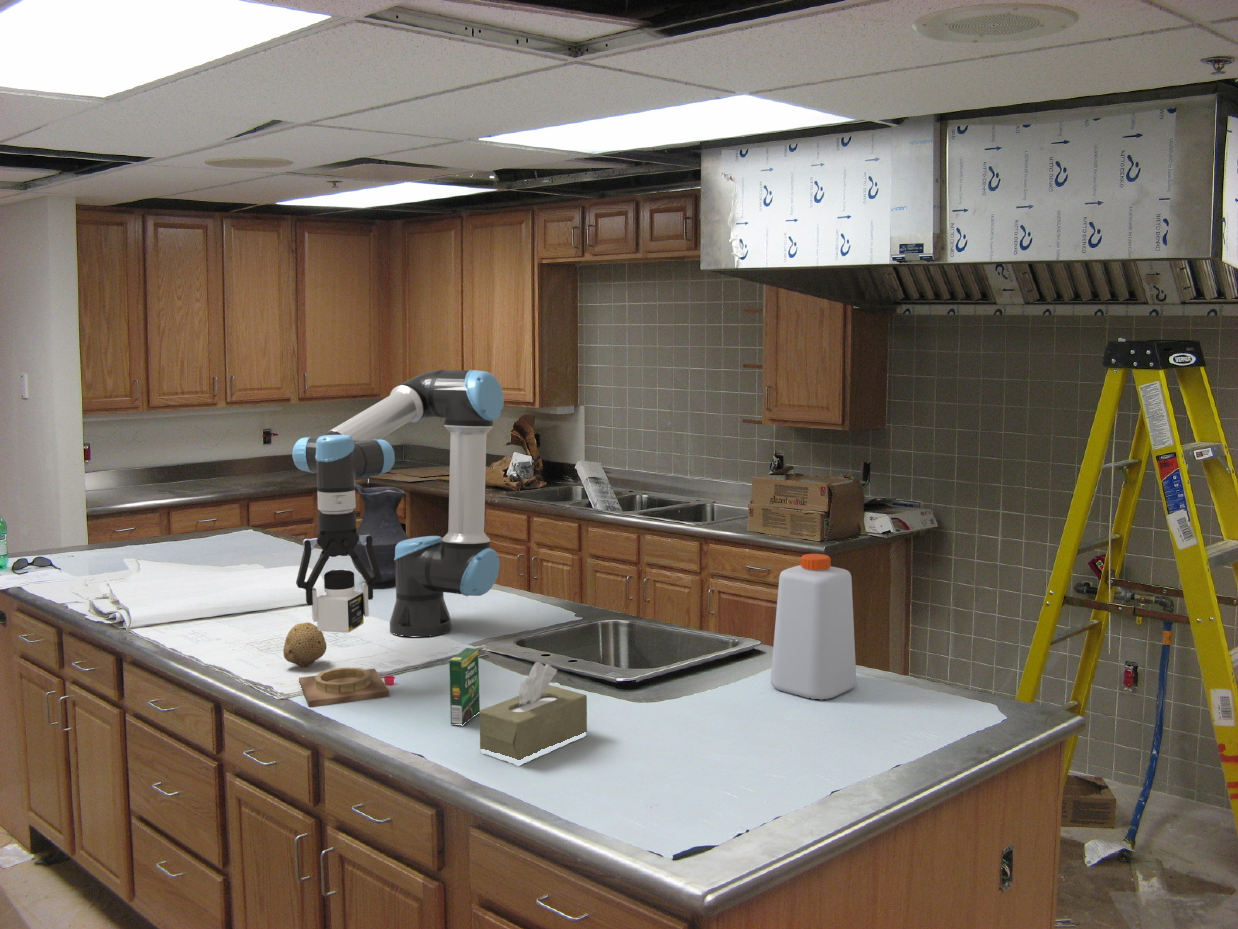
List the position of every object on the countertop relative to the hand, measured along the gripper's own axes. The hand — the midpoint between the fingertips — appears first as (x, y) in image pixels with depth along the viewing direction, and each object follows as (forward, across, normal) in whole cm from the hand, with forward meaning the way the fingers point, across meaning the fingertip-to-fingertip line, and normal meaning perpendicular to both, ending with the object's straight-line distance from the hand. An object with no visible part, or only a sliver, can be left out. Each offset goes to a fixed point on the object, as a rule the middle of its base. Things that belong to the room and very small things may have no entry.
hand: (340, 617), depth 229 cm
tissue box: (+16, +27, -44) cm, 54 cm away
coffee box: (+16, +19, -27) cm, 37 cm away
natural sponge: (+16, -5, +19) cm, 25 cm away
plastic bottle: (+16, +91, -37) cm, 100 cm away
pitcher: (+15, +23, +91) cm, 95 cm away
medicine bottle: (+2, 0, 0) cm, 2 cm away
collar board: (+15, 0, 0) cm, 15 cm away
